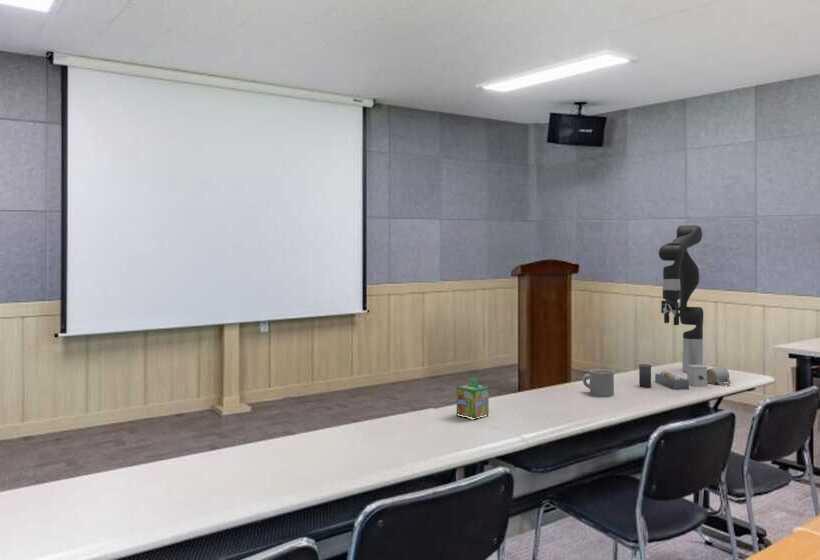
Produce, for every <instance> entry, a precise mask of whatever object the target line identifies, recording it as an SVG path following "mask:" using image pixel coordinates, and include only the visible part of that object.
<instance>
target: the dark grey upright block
mask: <svg viewBox="0 0 820 560" xmlns="http://www.w3.org/2000/svg"><path fill="white" fill-rule="evenodd" d="M638 368H639V370H638V371H639V372H638V374H639V375H638V378H639V380H638V381H639V385H638V386H639V388H641V387H643V388H642V389H651V388H652V365H651V364H645V363H643V364H642V363H641V364H638Z"/></svg>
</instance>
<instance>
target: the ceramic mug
mask: <svg viewBox="0 0 820 560" xmlns="http://www.w3.org/2000/svg"><path fill="white" fill-rule="evenodd" d="M724 382H726V383H724ZM707 383H709V384H711V383H712V384H713V385H716V384H715V383H717V384H718V385H720V386H723V385H729V384H730V385H731V380H730V373H729V370H728V369H727V368H726V367H725V366H723V365H722V366H721V365H719V366H714V367H710V368H707ZM712 384H711V385H712ZM730 385H729V386H730Z"/></svg>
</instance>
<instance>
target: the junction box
mask: <svg viewBox="0 0 820 560" xmlns="http://www.w3.org/2000/svg"><path fill="white" fill-rule="evenodd" d="M686 367H687V372H686V379H687V380H689V384H690V385H689V386H693V387H705V386H704V385H707V386H708V384H707V383H708V382H707V370H708V366H706V365H704V364H703V365H700V364H698V365H686Z"/></svg>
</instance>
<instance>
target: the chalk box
mask: <svg viewBox="0 0 820 560" xmlns="http://www.w3.org/2000/svg"><path fill="white" fill-rule="evenodd" d="M472 381H473V382H474V383H475V384H474V383H472ZM489 391H490V387H488V386H486V385H481V384H479V378H477V377H472V376H471V377H468V383H467V384H465V385H464V384H463V385H460V386H459V385H458V386H457V387H456V415H457V414H459V415H463V416H468V417H472V418H477V417H480V416H484V415H488V414H489V409H490V406H489V402H490V401H489V399H490V398H489V397H490V394H489V393H490V392H489Z"/></svg>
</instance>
